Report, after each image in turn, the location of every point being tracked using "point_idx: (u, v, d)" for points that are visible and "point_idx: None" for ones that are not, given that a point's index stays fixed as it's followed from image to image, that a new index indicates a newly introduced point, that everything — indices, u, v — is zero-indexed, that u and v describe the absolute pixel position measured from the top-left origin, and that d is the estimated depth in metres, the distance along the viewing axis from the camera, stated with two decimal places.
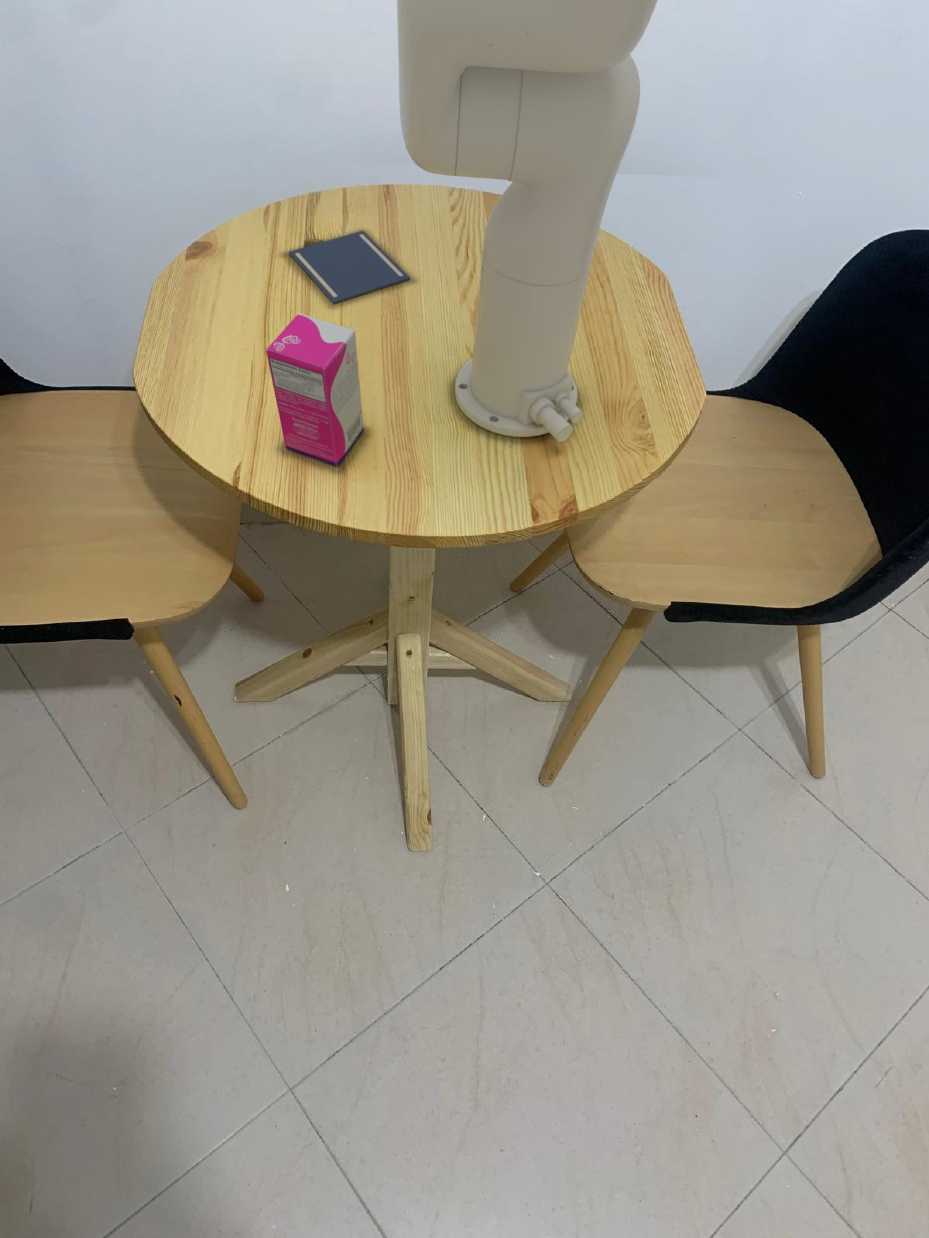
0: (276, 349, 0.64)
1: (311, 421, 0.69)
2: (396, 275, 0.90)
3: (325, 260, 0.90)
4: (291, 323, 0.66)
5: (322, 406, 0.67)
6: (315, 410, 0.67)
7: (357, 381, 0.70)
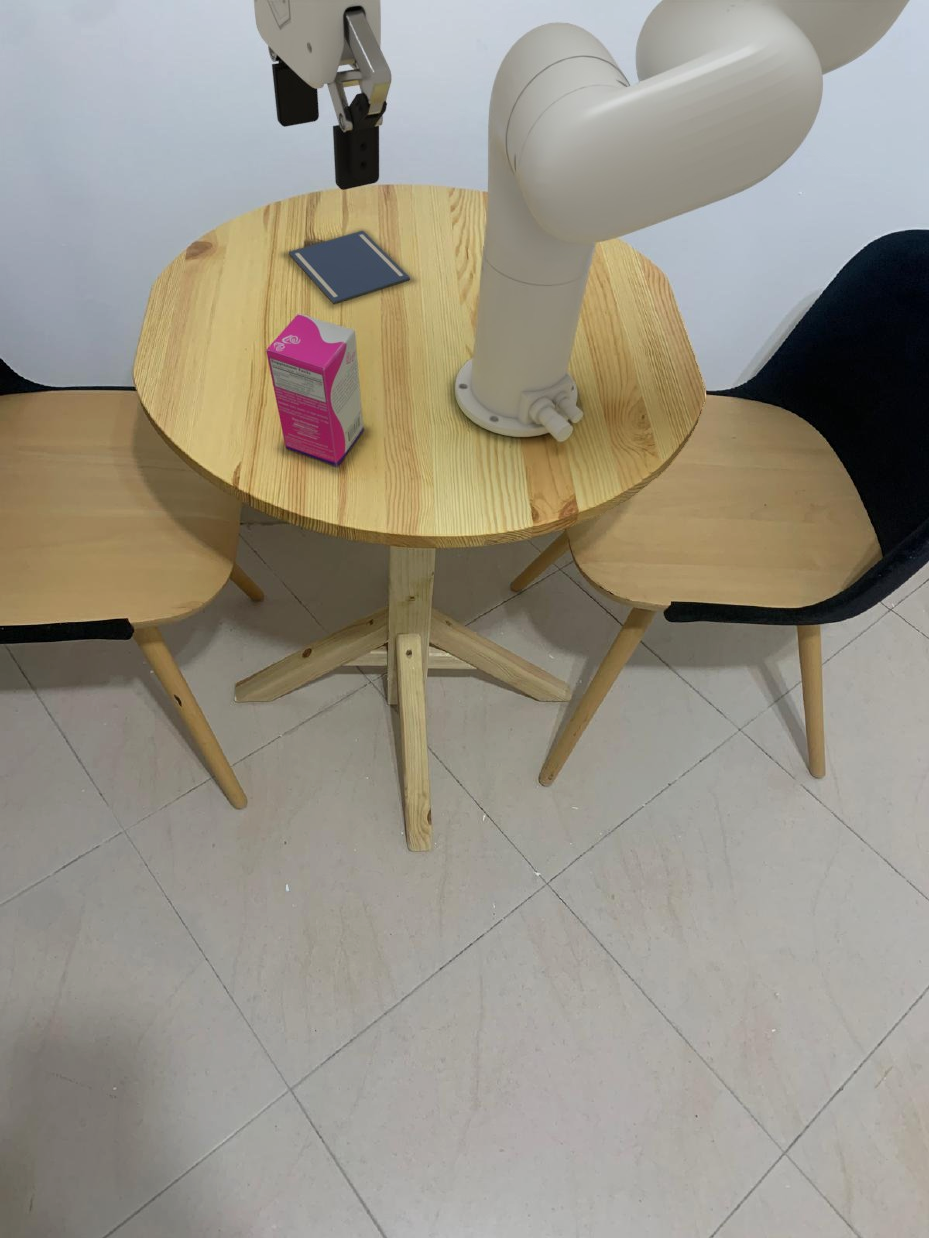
0: (276, 349, 0.64)
1: (311, 421, 0.69)
2: (396, 275, 0.90)
3: (325, 260, 0.90)
4: (291, 323, 0.66)
5: (322, 406, 0.67)
6: (315, 410, 0.67)
7: (357, 381, 0.70)
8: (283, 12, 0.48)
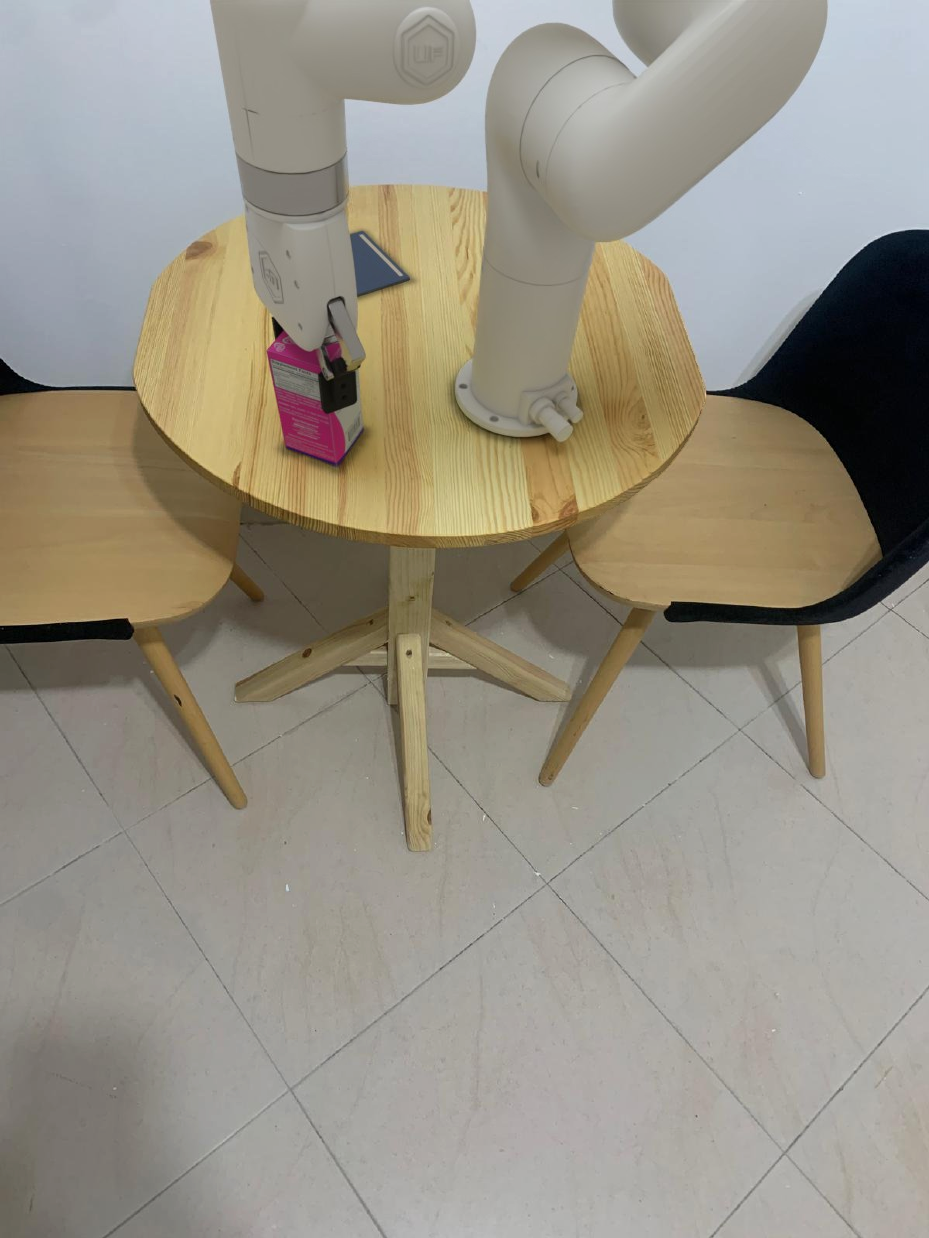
0: (276, 350, 0.64)
1: (311, 421, 0.69)
2: (396, 275, 0.90)
3: None
4: None
5: None
6: (316, 410, 0.67)
7: (357, 381, 0.70)
8: (278, 294, 0.59)
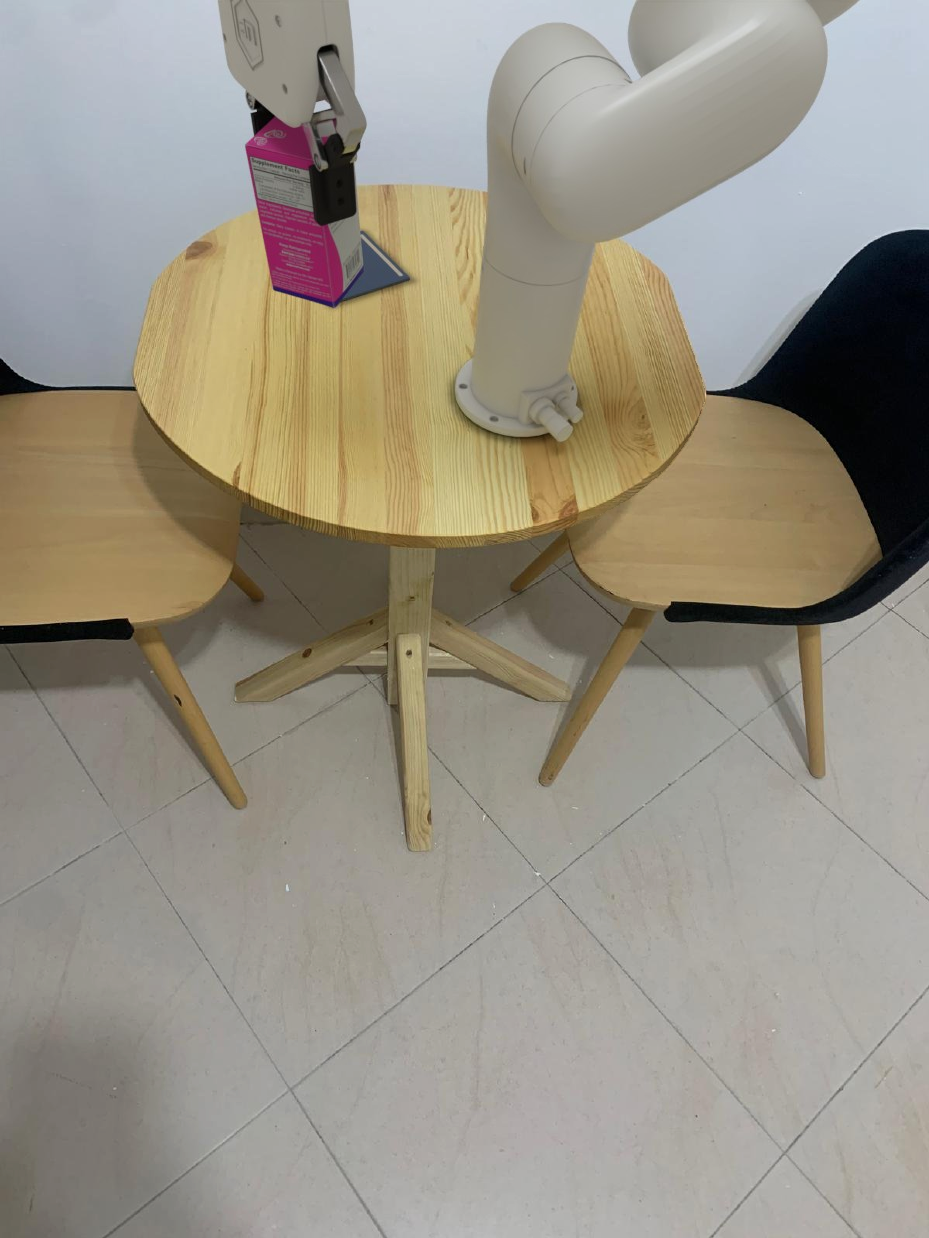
0: (257, 144, 0.53)
1: (301, 244, 0.58)
2: (396, 275, 0.90)
3: None
4: (274, 119, 0.55)
5: (314, 220, 0.56)
6: (307, 227, 0.56)
7: None
8: (256, 53, 0.48)
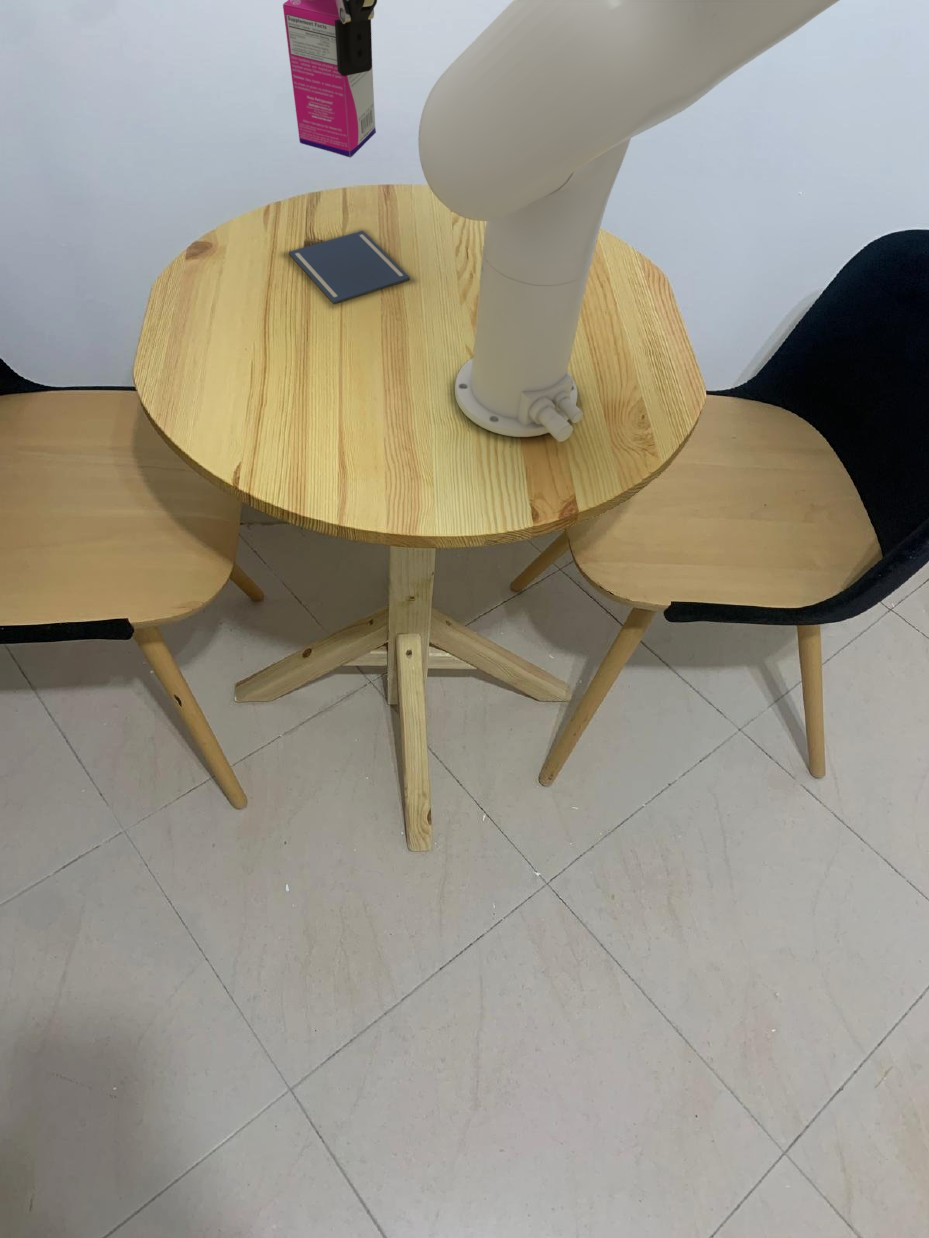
0: (293, 4, 0.66)
1: (325, 96, 0.70)
2: (396, 275, 0.90)
3: (325, 260, 0.90)
4: None
5: (337, 72, 0.68)
6: (330, 79, 0.69)
7: None
8: None
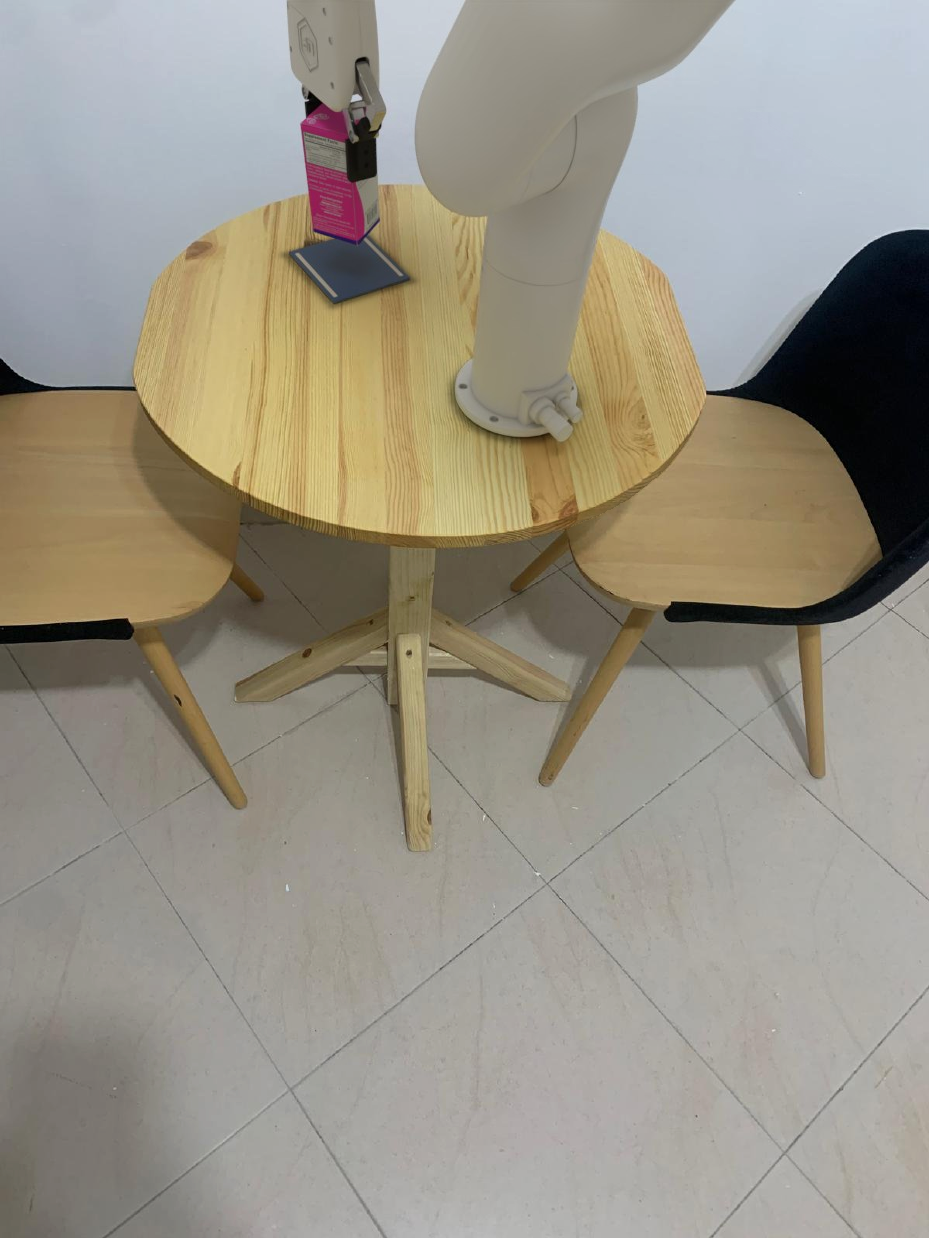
0: (309, 123, 0.76)
1: (336, 196, 0.81)
2: (396, 275, 0.90)
3: (325, 260, 0.90)
4: (320, 106, 0.78)
5: (346, 178, 0.79)
6: (340, 183, 0.79)
7: None
8: (313, 61, 0.71)
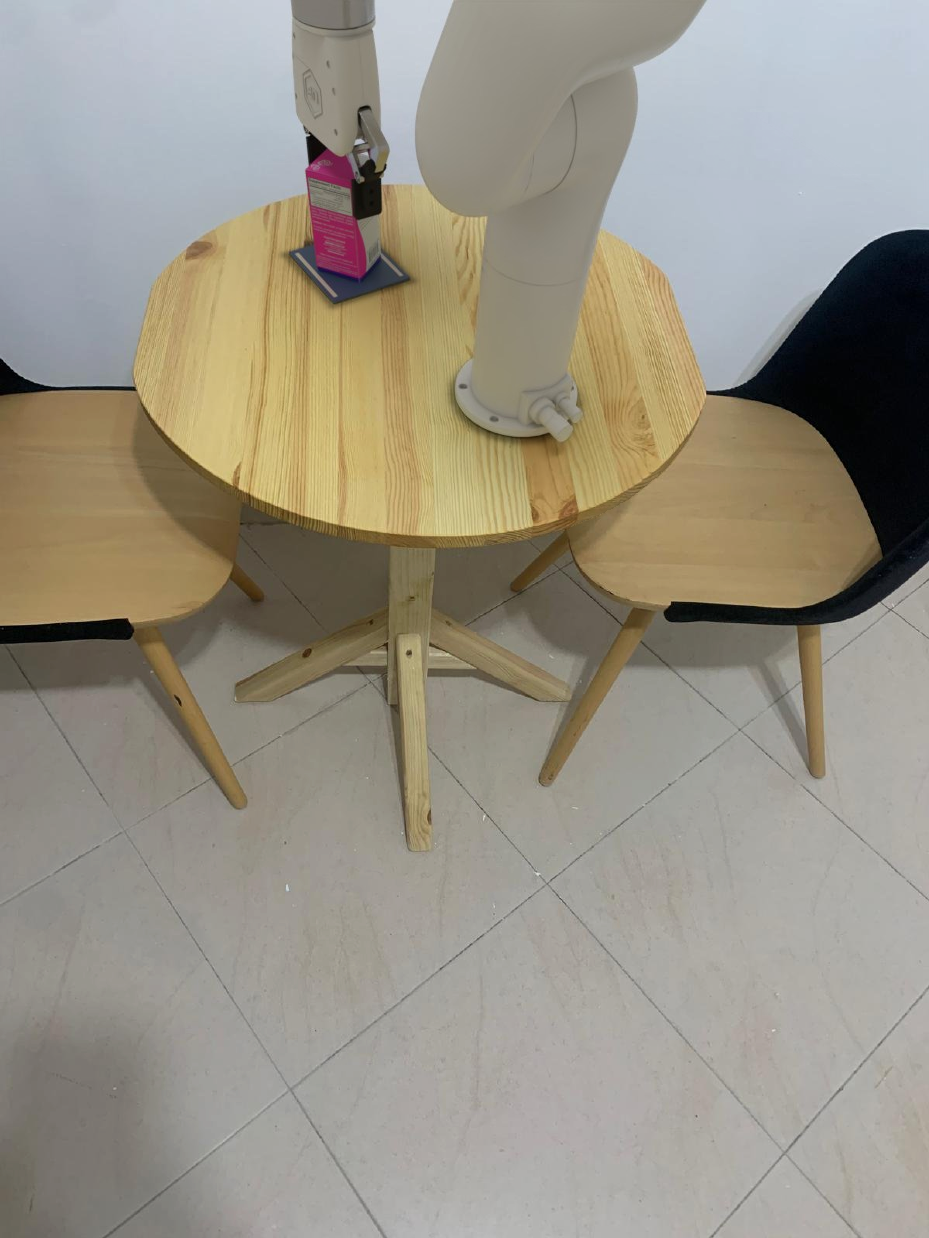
0: (313, 169, 0.80)
1: (339, 237, 0.84)
2: (396, 275, 0.90)
3: None
4: (324, 152, 0.82)
5: (349, 220, 0.82)
6: (343, 225, 0.83)
7: None
8: (317, 109, 0.75)
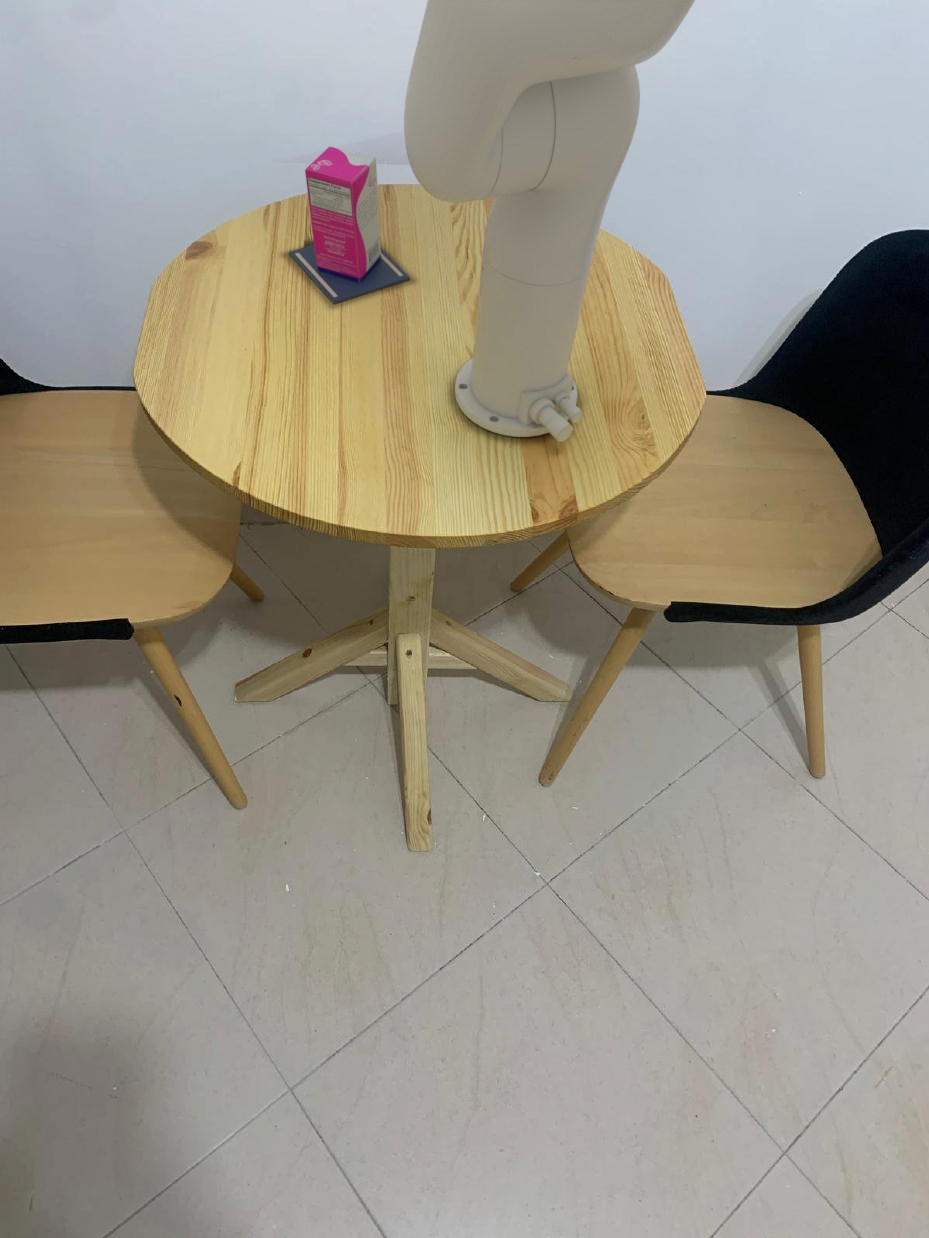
0: (313, 169, 0.80)
1: (339, 237, 0.84)
2: (396, 275, 0.90)
3: None
4: (324, 152, 0.82)
5: (349, 220, 0.82)
6: (343, 225, 0.83)
7: (377, 207, 0.86)
8: None
